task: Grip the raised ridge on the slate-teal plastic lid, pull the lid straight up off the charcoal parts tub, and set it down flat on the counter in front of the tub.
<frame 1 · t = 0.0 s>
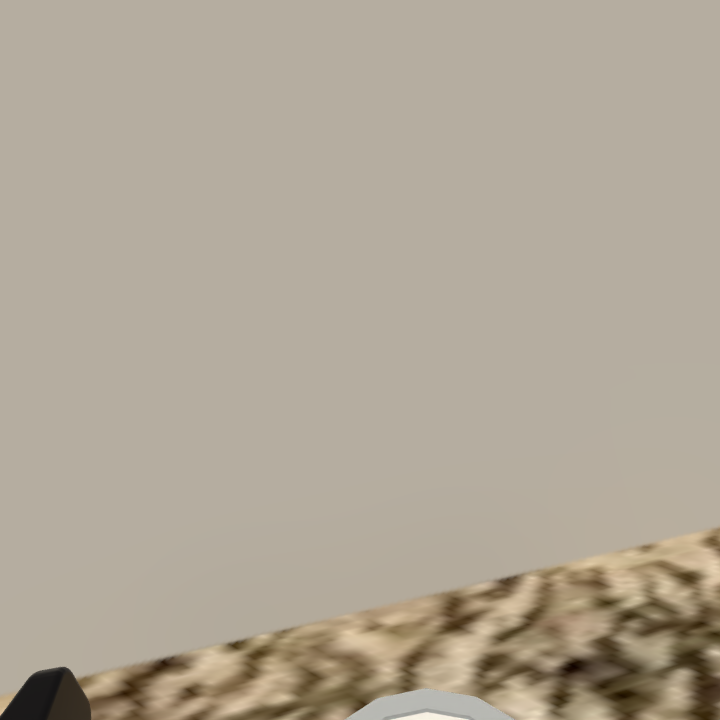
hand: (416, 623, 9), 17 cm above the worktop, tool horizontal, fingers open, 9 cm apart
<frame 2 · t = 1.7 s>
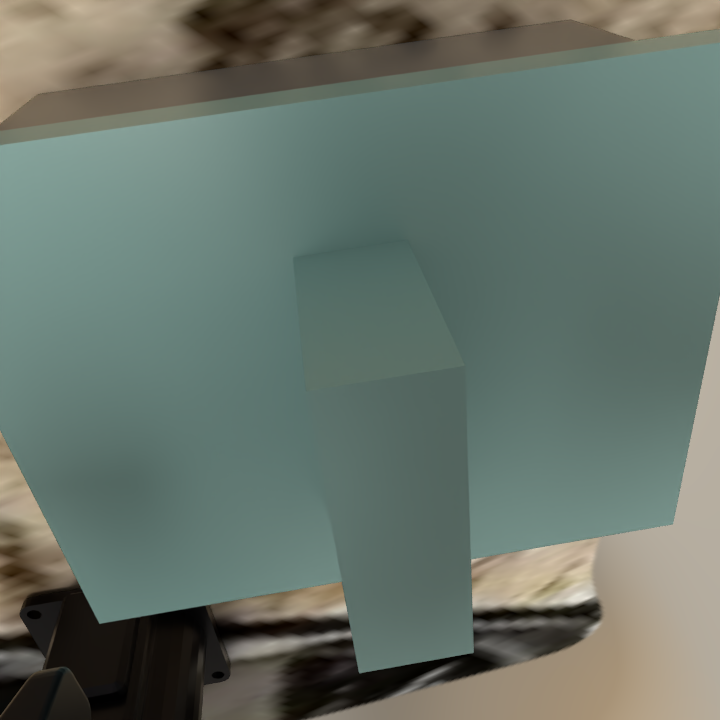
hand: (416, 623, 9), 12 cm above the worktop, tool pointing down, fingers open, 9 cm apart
lid: (356, 337, 15), point 5 cm above the worktop, touching tub
tub: (335, 246, 19), on the worktop
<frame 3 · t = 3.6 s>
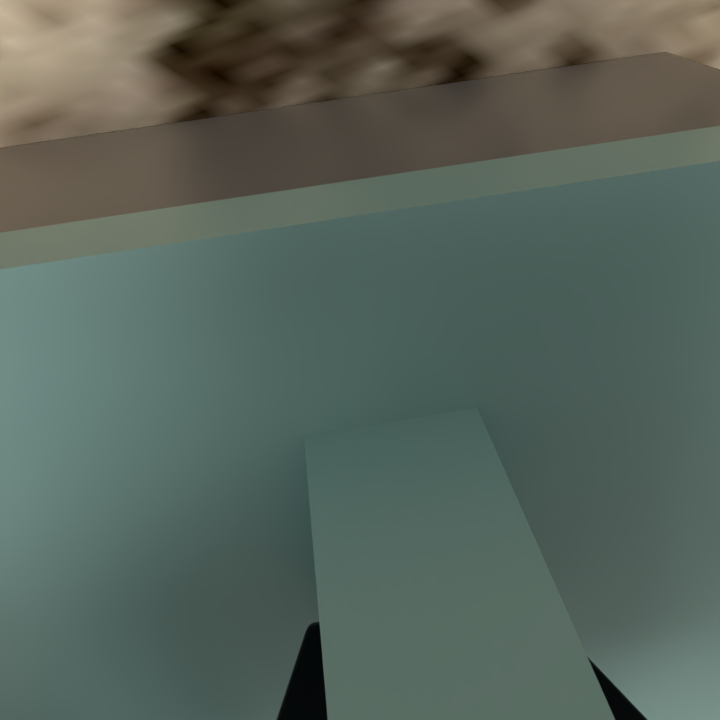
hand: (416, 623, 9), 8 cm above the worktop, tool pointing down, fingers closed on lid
lid: (386, 490, 11), point 5 cm above the worktop, touching gripper, tub
tub: (353, 333, 15), on the worktop
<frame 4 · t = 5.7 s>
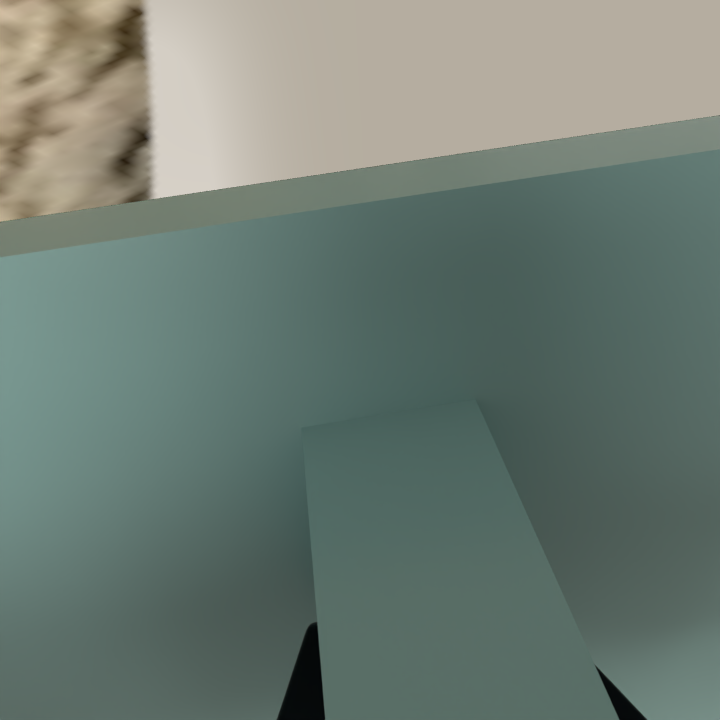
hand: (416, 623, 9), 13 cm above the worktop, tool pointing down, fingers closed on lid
lid: (385, 484, 11), point 11 cm above the worktop, touching gripper
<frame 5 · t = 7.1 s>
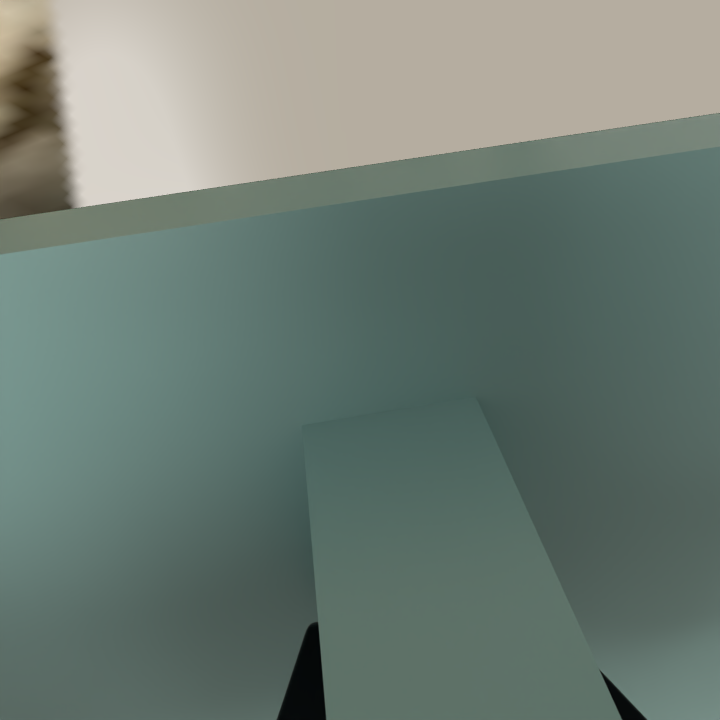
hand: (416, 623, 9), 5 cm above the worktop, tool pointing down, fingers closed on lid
lid: (385, 482, 11), point 3 cm above the worktop, touching gripper
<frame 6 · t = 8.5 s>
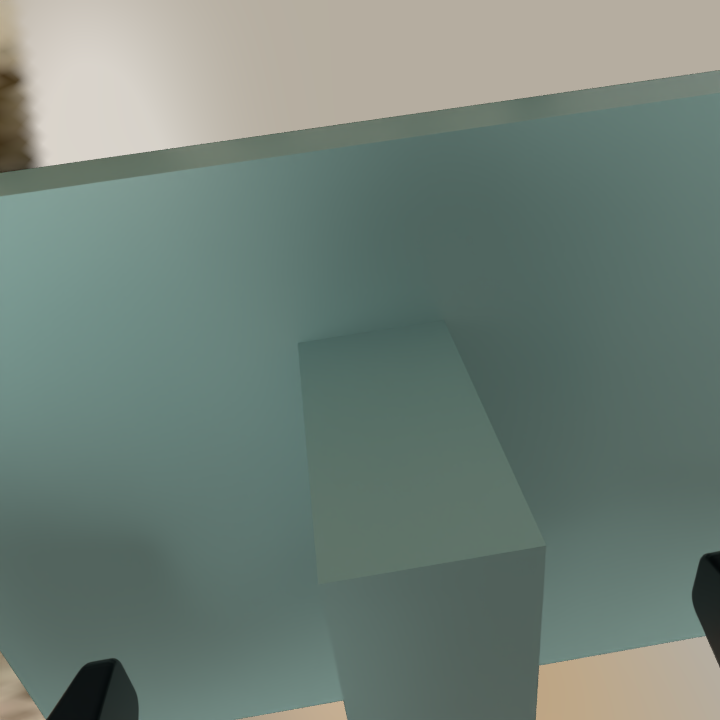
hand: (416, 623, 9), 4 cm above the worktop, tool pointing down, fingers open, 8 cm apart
lid: (372, 416, 13), on the worktop
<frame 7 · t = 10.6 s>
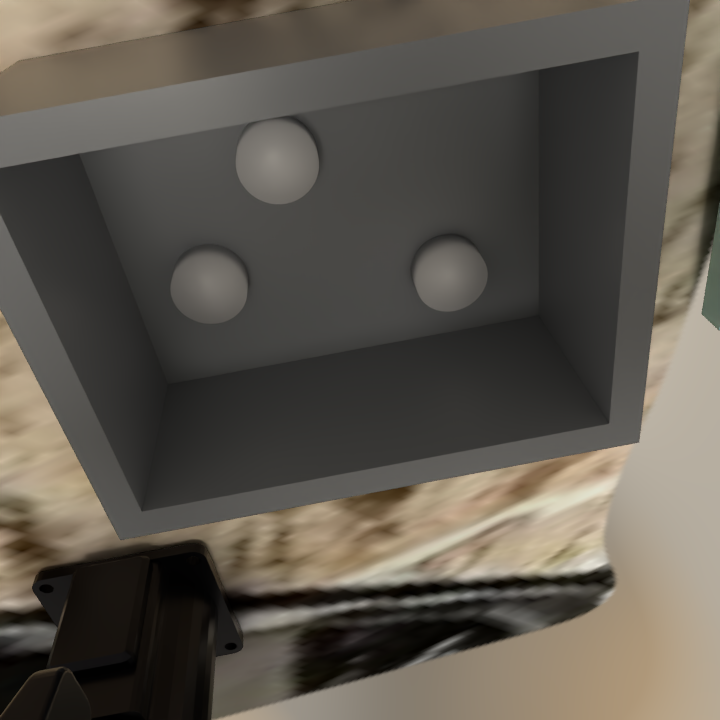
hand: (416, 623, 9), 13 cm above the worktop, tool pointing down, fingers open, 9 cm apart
tub: (327, 209, 19), on the worktop
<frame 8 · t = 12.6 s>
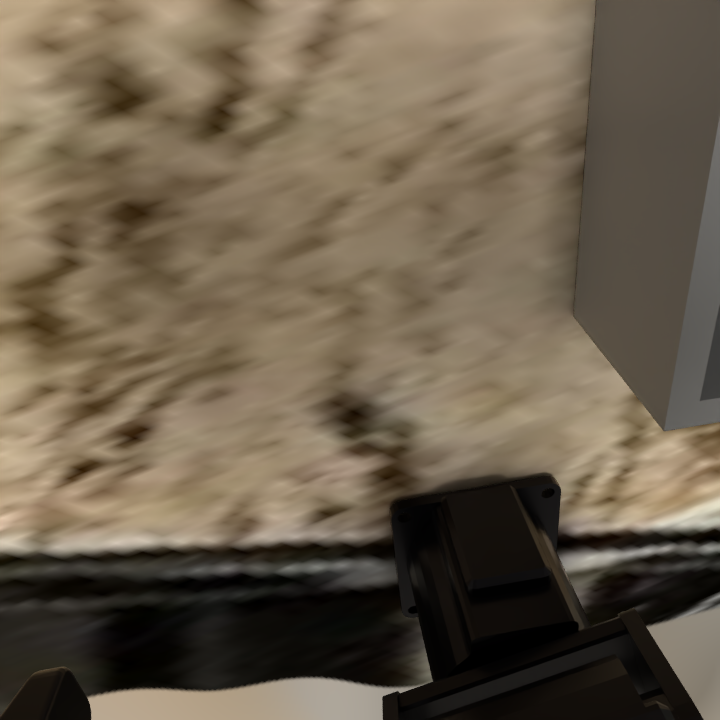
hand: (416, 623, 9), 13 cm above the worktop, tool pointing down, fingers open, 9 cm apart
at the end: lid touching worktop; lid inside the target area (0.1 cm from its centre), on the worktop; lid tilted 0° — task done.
